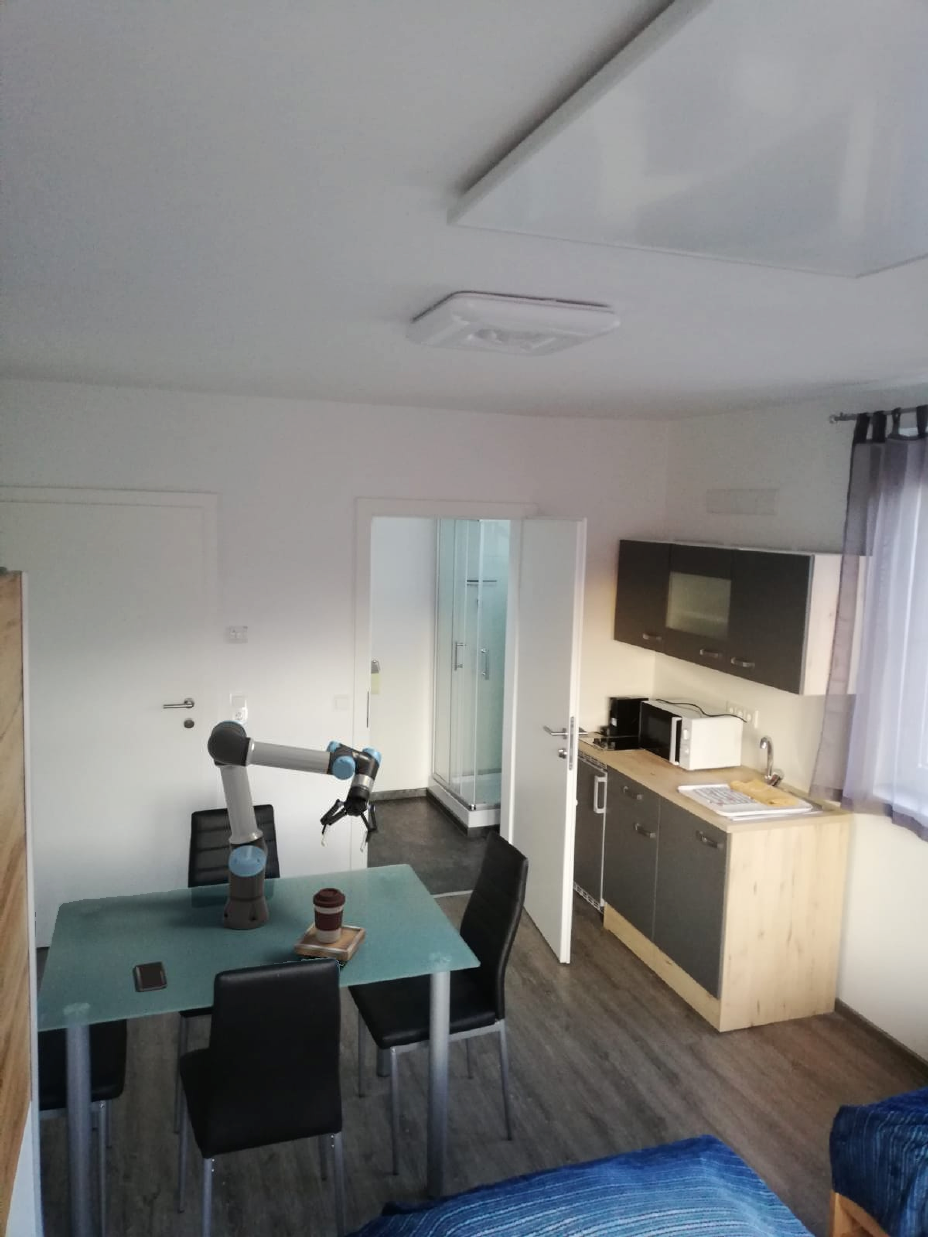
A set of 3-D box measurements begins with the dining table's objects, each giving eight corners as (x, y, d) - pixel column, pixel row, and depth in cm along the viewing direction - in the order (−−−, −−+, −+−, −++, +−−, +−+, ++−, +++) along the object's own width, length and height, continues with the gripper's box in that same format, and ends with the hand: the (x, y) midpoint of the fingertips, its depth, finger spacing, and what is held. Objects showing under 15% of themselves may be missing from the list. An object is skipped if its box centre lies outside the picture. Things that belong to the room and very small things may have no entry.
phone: (138, 990, 249) (134, 965, 263) (138, 994, 250) (134, 968, 263) (168, 985, 253) (162, 961, 266) (167, 989, 253) (162, 964, 266)
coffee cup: (305, 940, 275) (306, 893, 273) (324, 928, 284) (325, 883, 282) (331, 949, 270) (333, 901, 269) (350, 936, 279) (351, 890, 278)
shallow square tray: (294, 962, 271) (294, 944, 270) (314, 938, 288) (315, 920, 287) (347, 970, 268) (348, 952, 267) (365, 945, 284) (365, 928, 284)
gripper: (396, 801, 308) (380, 858, 295) (328, 791, 313) (309, 846, 300) (392, 790, 302) (375, 847, 289) (323, 780, 307) (304, 836, 294)
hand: (342, 847), depth 295 cm, fingers open, 13 cm apart
